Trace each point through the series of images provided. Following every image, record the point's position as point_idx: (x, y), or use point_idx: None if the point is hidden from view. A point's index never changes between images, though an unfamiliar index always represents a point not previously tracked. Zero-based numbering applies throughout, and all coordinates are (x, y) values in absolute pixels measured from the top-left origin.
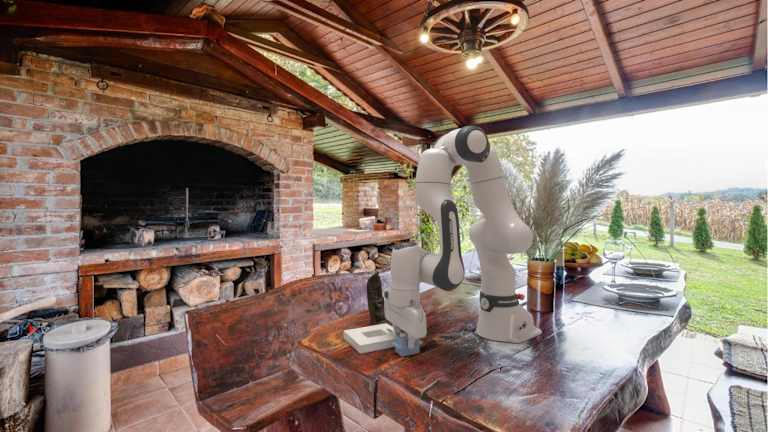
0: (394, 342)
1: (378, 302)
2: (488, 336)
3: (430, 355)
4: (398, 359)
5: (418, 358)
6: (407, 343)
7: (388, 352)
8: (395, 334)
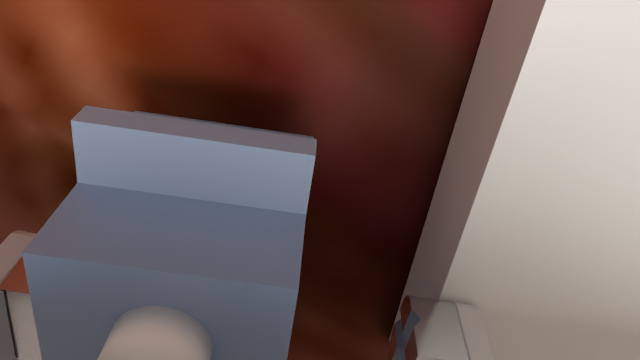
0: (274, 183)
1: None
2: None
3: None
4: (67, 19)
5: (10, 220)
6: None
7: (340, 47)
8: (454, 342)
